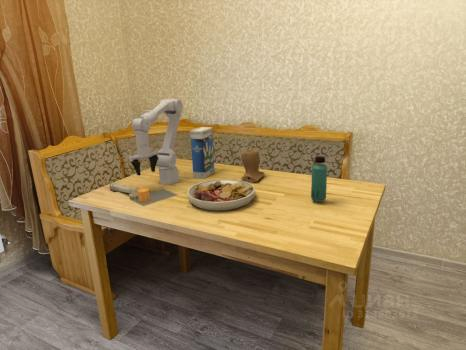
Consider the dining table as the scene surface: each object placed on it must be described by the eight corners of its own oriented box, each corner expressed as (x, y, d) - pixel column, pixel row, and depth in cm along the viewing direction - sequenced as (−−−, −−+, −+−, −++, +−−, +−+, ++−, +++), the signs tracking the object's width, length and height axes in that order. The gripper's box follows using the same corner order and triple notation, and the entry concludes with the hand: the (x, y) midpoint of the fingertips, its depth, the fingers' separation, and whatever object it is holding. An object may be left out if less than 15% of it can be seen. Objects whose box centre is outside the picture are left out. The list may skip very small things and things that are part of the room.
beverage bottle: (326, 199, 146) (329, 155, 140) (325, 205, 140) (327, 159, 134) (311, 198, 148) (313, 154, 142) (309, 204, 142) (311, 158, 136)
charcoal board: (163, 190, 164) (162, 182, 162) (178, 196, 155) (177, 187, 154) (129, 201, 152) (128, 192, 150) (143, 208, 143) (142, 198, 142)
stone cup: (246, 173, 187) (245, 147, 182) (266, 175, 182) (266, 148, 178) (235, 181, 173) (234, 153, 169) (257, 184, 169) (257, 155, 164)
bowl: (209, 185, 170) (208, 170, 167) (264, 193, 157) (264, 177, 154) (174, 207, 144) (173, 190, 142) (237, 218, 131) (237, 199, 129)
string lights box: (205, 178, 180) (202, 131, 172) (192, 177, 182) (189, 130, 175) (215, 171, 191) (212, 127, 184) (203, 170, 194) (200, 126, 186)
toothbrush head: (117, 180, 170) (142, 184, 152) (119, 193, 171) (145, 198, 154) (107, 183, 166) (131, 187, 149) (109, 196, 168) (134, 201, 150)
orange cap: (148, 197, 153) (147, 187, 152) (151, 200, 149) (150, 190, 147) (137, 199, 151) (136, 188, 149) (140, 203, 147) (138, 192, 145)
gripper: (152, 141, 161) (154, 168, 165) (124, 146, 151) (127, 175, 155) (160, 143, 156) (162, 171, 160) (131, 148, 146) (135, 178, 150)
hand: (146, 173), depth 157 cm, fingers open, 7 cm apart
